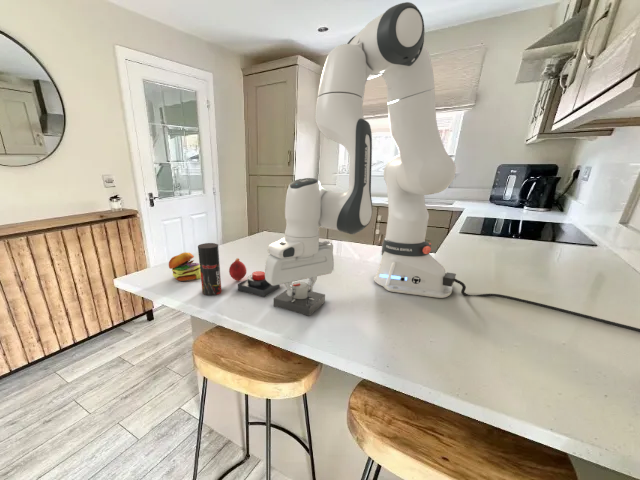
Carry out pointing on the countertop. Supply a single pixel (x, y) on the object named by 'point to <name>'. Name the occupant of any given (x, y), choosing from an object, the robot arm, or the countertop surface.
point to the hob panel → (300, 302)
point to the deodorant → (209, 269)
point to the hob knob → (300, 290)
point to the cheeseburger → (184, 267)
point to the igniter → (257, 287)
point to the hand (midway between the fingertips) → (299, 293)
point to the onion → (237, 270)
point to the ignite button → (258, 275)
